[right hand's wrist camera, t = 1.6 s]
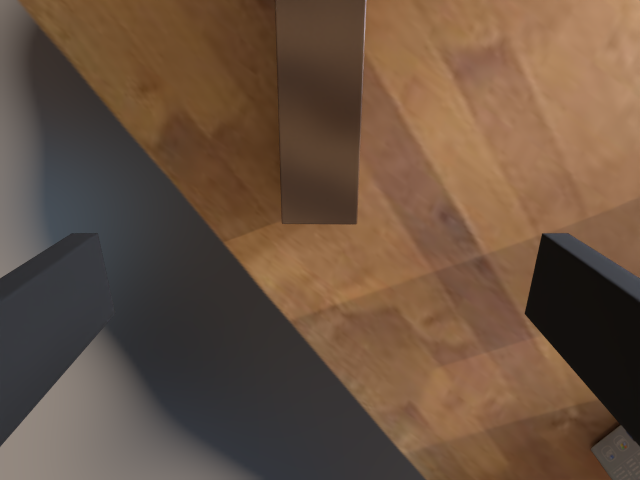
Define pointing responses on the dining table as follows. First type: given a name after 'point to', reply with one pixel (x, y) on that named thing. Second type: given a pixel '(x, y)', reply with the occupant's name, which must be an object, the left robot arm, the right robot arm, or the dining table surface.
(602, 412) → the dining table surface
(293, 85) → the beam
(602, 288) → the right robot arm
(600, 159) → the dining table surface
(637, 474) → the hard drive box
